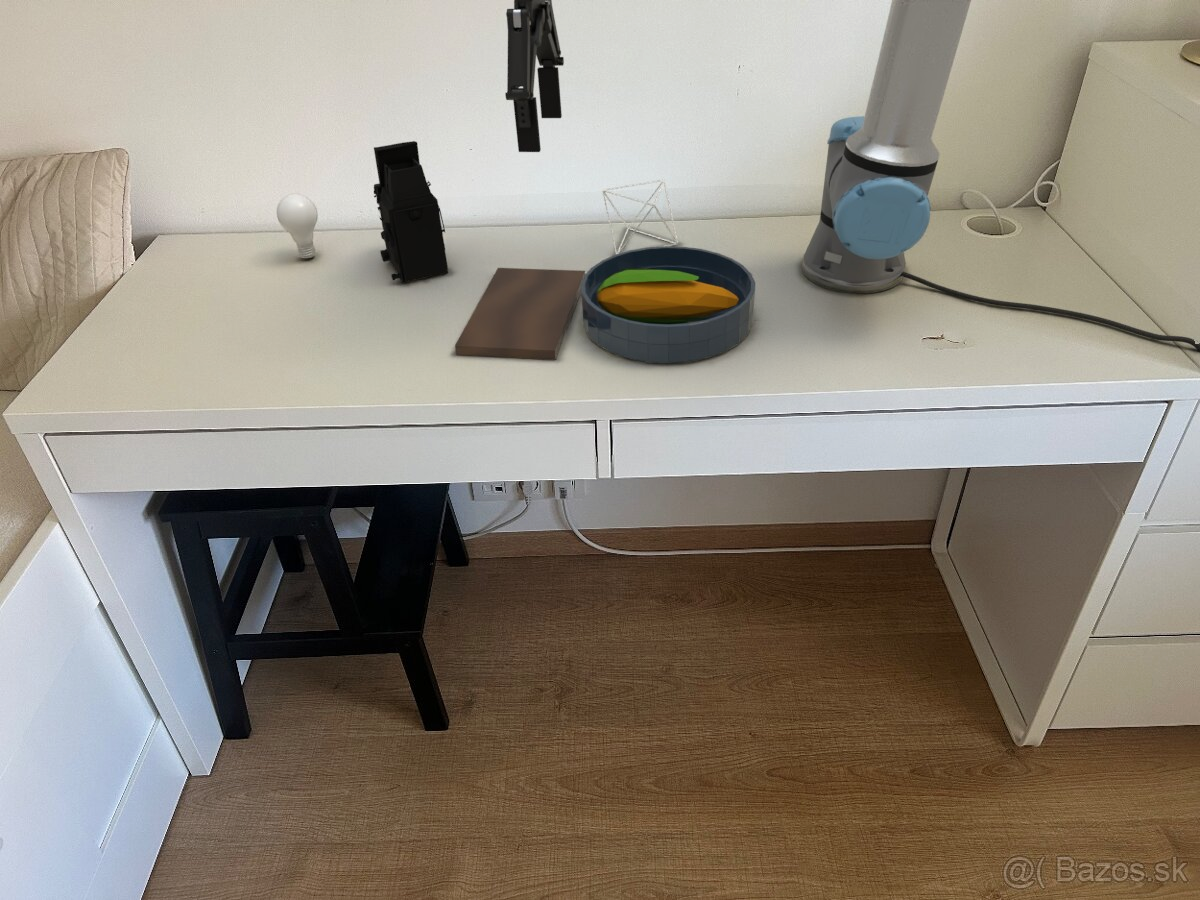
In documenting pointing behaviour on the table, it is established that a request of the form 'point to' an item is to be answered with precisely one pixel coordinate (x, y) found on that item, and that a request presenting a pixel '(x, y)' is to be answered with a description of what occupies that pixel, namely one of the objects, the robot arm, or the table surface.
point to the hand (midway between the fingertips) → (541, 133)
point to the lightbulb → (299, 221)
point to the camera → (408, 214)
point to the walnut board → (522, 314)
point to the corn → (661, 296)
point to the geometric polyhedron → (639, 213)
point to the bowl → (672, 338)
